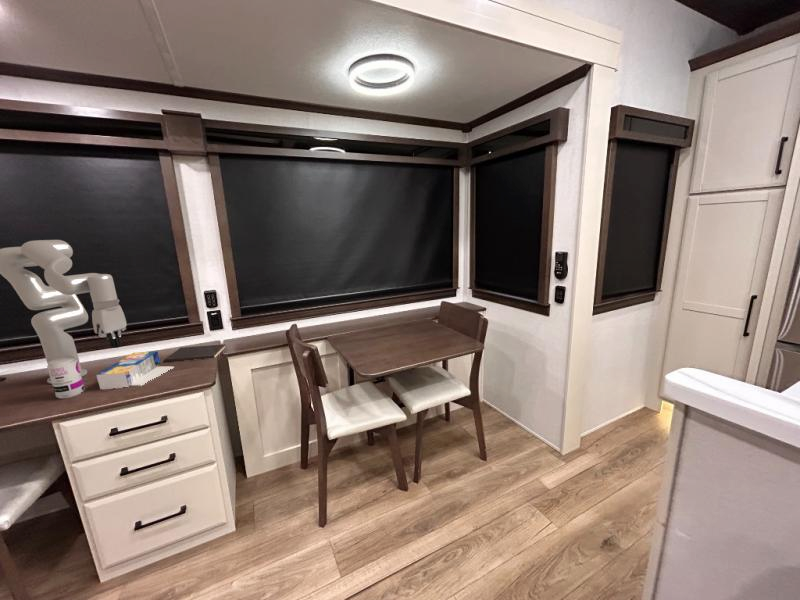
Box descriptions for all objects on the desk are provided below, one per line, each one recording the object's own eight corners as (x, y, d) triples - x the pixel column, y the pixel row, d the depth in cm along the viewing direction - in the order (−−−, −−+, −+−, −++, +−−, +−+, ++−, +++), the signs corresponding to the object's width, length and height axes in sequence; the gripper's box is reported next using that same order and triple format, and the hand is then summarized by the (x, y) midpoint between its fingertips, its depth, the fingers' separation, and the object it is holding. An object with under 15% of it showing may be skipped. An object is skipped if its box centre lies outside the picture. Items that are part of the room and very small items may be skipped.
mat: (101, 385, 133) (101, 384, 133) (138, 367, 151) (138, 366, 151) (141, 386, 132) (140, 384, 132) (173, 367, 150) (173, 366, 150)
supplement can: (83, 387, 133) (74, 354, 129) (86, 393, 128) (77, 359, 124) (55, 395, 127) (45, 360, 123) (57, 401, 121) (46, 366, 118)
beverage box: (124, 372, 130) (157, 351, 151) (95, 374, 128) (133, 352, 150) (128, 387, 132) (160, 364, 153) (100, 389, 130) (136, 365, 151)
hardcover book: (181, 351, 171) (180, 347, 171) (226, 348, 175) (225, 344, 175) (165, 363, 156) (164, 359, 155) (214, 359, 160) (214, 355, 159)
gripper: (115, 300, 134) (124, 340, 138) (78, 309, 120) (89, 353, 124) (131, 300, 134) (140, 340, 138) (96, 309, 119) (107, 353, 123)
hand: (116, 346), depth 131 cm, fingers closed
